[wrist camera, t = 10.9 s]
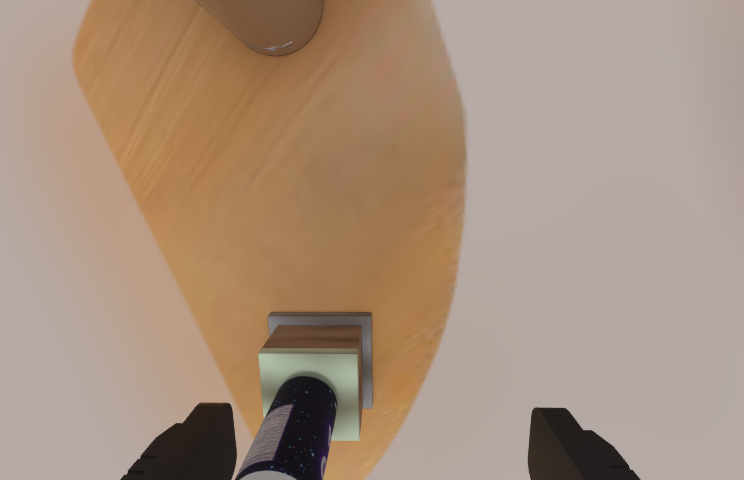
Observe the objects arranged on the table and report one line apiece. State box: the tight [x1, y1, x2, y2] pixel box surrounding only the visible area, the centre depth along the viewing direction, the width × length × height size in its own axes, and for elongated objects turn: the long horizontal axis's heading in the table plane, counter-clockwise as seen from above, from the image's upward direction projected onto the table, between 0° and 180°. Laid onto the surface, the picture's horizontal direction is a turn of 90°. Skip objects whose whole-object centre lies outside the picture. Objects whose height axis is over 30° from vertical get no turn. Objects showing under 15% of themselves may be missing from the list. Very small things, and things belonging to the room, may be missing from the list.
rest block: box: [258, 313, 373, 441], centre depth 37 cm, size 11×11×7 cm
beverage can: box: [235, 376, 338, 480], centre depth 27 cm, size 6×6×12 cm
